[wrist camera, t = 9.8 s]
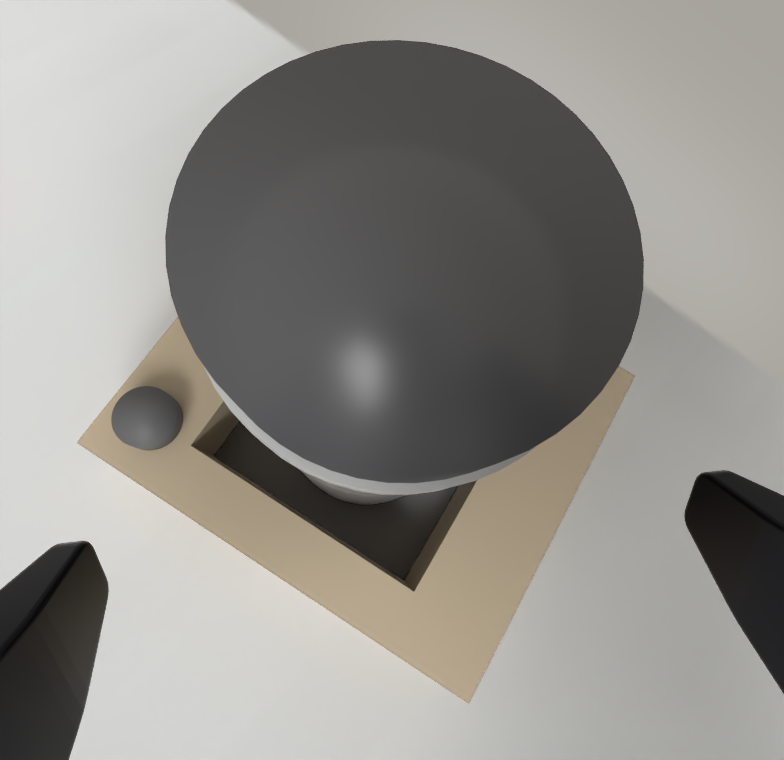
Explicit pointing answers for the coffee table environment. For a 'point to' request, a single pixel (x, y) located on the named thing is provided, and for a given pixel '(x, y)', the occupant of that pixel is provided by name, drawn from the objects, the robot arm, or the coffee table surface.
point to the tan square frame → (331, 554)
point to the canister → (402, 265)
